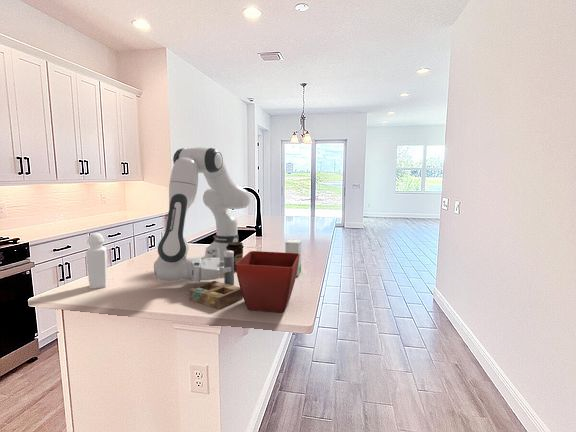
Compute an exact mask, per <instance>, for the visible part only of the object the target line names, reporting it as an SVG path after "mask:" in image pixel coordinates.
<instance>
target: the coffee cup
mask: <svg viewBox="0 0 576 432" xmlns="http://www.w3.org/2000/svg"><path fill="white" fill-rule="evenodd" d="M226 249H227V251H229V250H230V251H234V272H236V266H235V264H236V263H237V262H238V261H239V260H240V259H242V258H243V257H244V243H243V242H242V241H238V242H231V243H228V246H227V247H226Z"/></svg>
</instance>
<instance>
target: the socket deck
mask: <svg viewBox="0 0 576 432" xmlns="http://www.w3.org/2000/svg"><path fill="white" fill-rule="evenodd" d="M189 300H190V301H191V302H195V303H198V304H202V305H205V306H207V307H211V308H214V309H218V310H221V309H223V308H225V307H228V306H230V305H231V304H234V303H236V302H238V301H241V300H244V298H243V296H242V292H241V289H240V286H237V285H236V286H235V285H229V284H225V283H224V282H221V281H217V280H213V281H209V282H207V283H204V284H201V285H199V286H198V285H197V286H195V287H192V288H189Z"/></svg>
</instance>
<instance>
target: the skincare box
mask: <svg viewBox="0 0 576 432" xmlns="http://www.w3.org/2000/svg"><path fill="white" fill-rule="evenodd" d="M284 246H285V252H284V253H298V254H300V256H299V263H298V269H297V274H296V277H299V276H300V274H301V273H302V240H301V239H288V240H286V241H285V245H284Z"/></svg>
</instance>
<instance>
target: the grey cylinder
mask: <svg viewBox="0 0 576 432" xmlns="http://www.w3.org/2000/svg"><path fill="white" fill-rule="evenodd" d="M225 267H231V272H226V273H223V277H224V279H223V281H224V282H223V283H225V284H229V285H233V286H235V271H234V251H230V250H229V251H224V266H223V268H225Z"/></svg>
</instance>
